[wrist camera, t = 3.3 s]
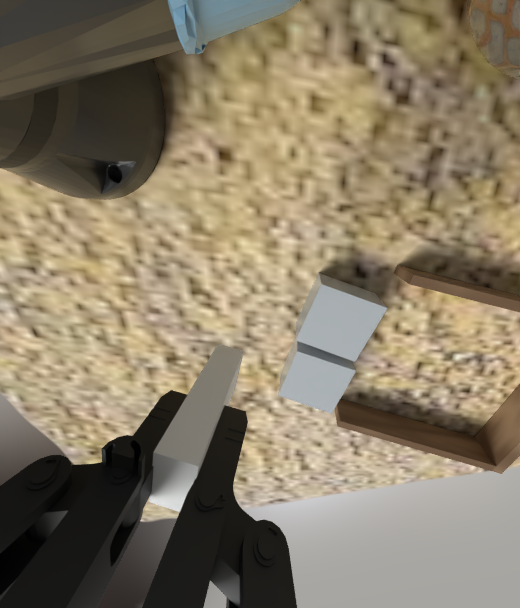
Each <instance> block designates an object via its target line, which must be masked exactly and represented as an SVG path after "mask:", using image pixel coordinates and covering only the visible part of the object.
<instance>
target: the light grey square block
mask: <svg viewBox="0 0 520 608" xmlns="http://www.w3.org/2000/svg"><path fill="white" fill-rule="evenodd" d="M386 310H387V307H386V306H385V304H384V303H383V302H382V301H381V300H380V299H379V297H378V296H377V295H376V294H375V293H373V292H370V291H367V290H364V289H362V288H359V287H356V286H353V285H351V284H348V283H345V282H342V281H339V280H337V279H334V278H331V277H328V276H326V275H323V274H320V273H318V275H317V277H316V279H315V281H314V284H313V286H312V288H311V290H310V293H309V295H308V297H307V299H306V302H305V304H304V306H303V308H302V311H301V313H300V315H299V317H298V320H297V322H296V341H299V342H302V343H305V344H307V345H310V346H313V347H316V348H318V349H321V350H324V351H326V352H329V353H332V354H335V355H337V356H340V357H343V358H346V359H348V360H351V361H354V362H355V361H356V359H357V358H358V356H359V354H360V353H361V351H362V350H363V348H364V346H365V345H366V343H367V341H368V340H369V338H370V336H371V335H372V333H373V331H374V330H375V328H376V326H377V325H378V323H379V322H380V320H381V318H382V317H383V315H384V313H385V312H386Z"/></svg>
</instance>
